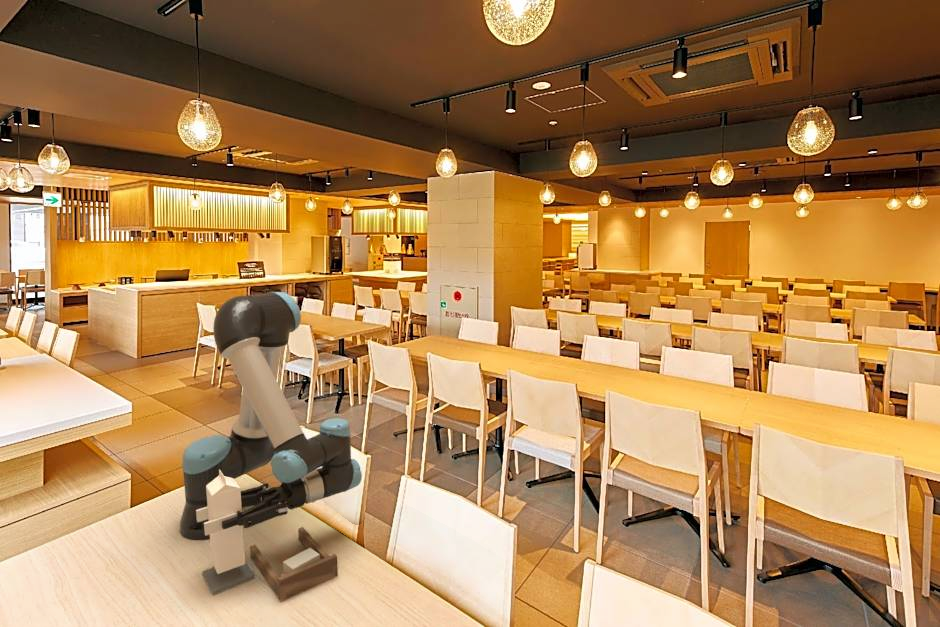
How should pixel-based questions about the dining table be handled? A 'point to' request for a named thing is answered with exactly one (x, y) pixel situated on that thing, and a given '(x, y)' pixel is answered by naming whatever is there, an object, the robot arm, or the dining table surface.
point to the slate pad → (227, 578)
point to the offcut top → (300, 560)
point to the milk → (231, 540)
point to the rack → (301, 577)
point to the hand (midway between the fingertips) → (200, 522)
